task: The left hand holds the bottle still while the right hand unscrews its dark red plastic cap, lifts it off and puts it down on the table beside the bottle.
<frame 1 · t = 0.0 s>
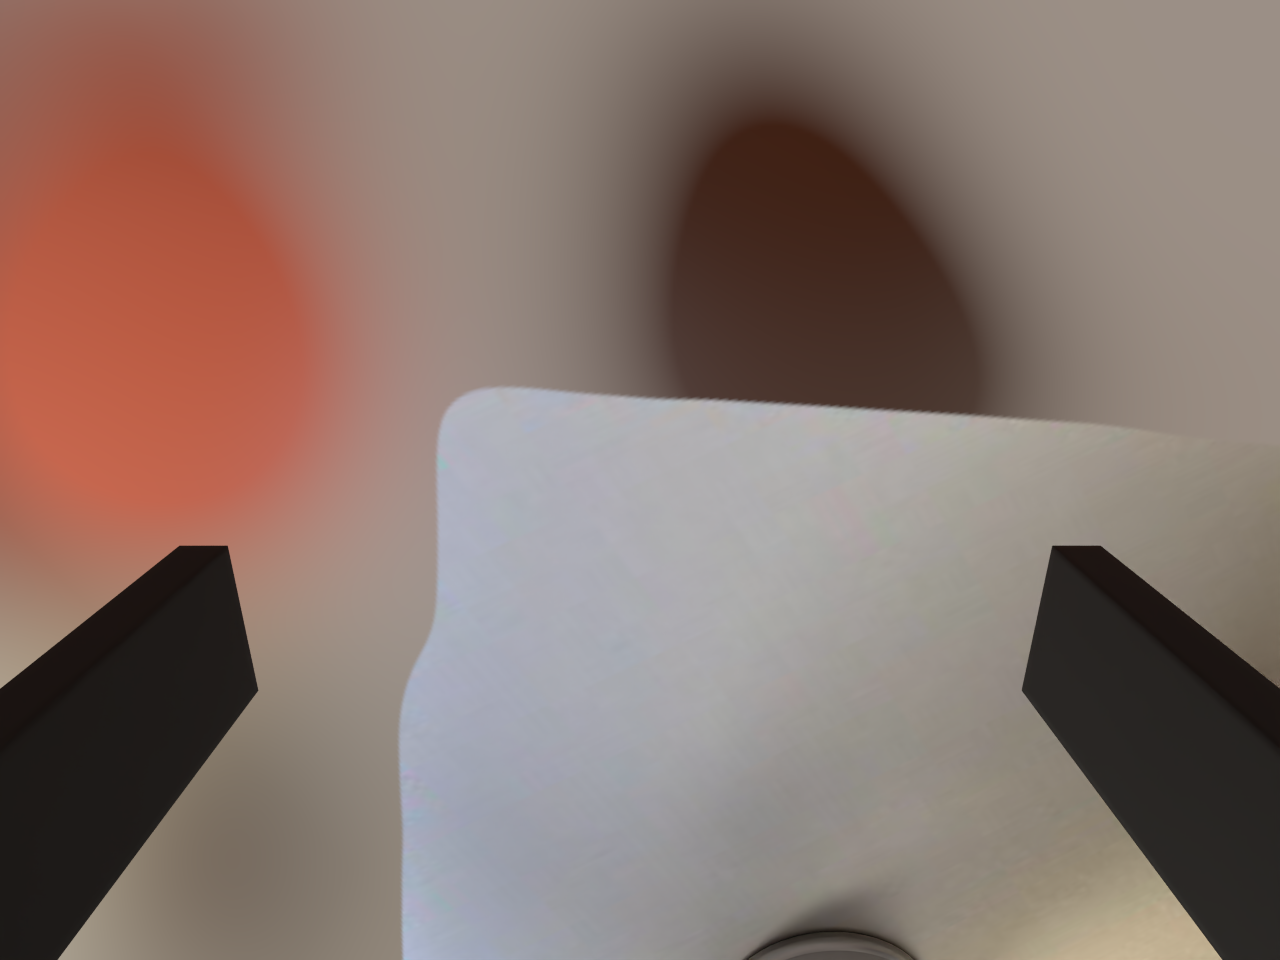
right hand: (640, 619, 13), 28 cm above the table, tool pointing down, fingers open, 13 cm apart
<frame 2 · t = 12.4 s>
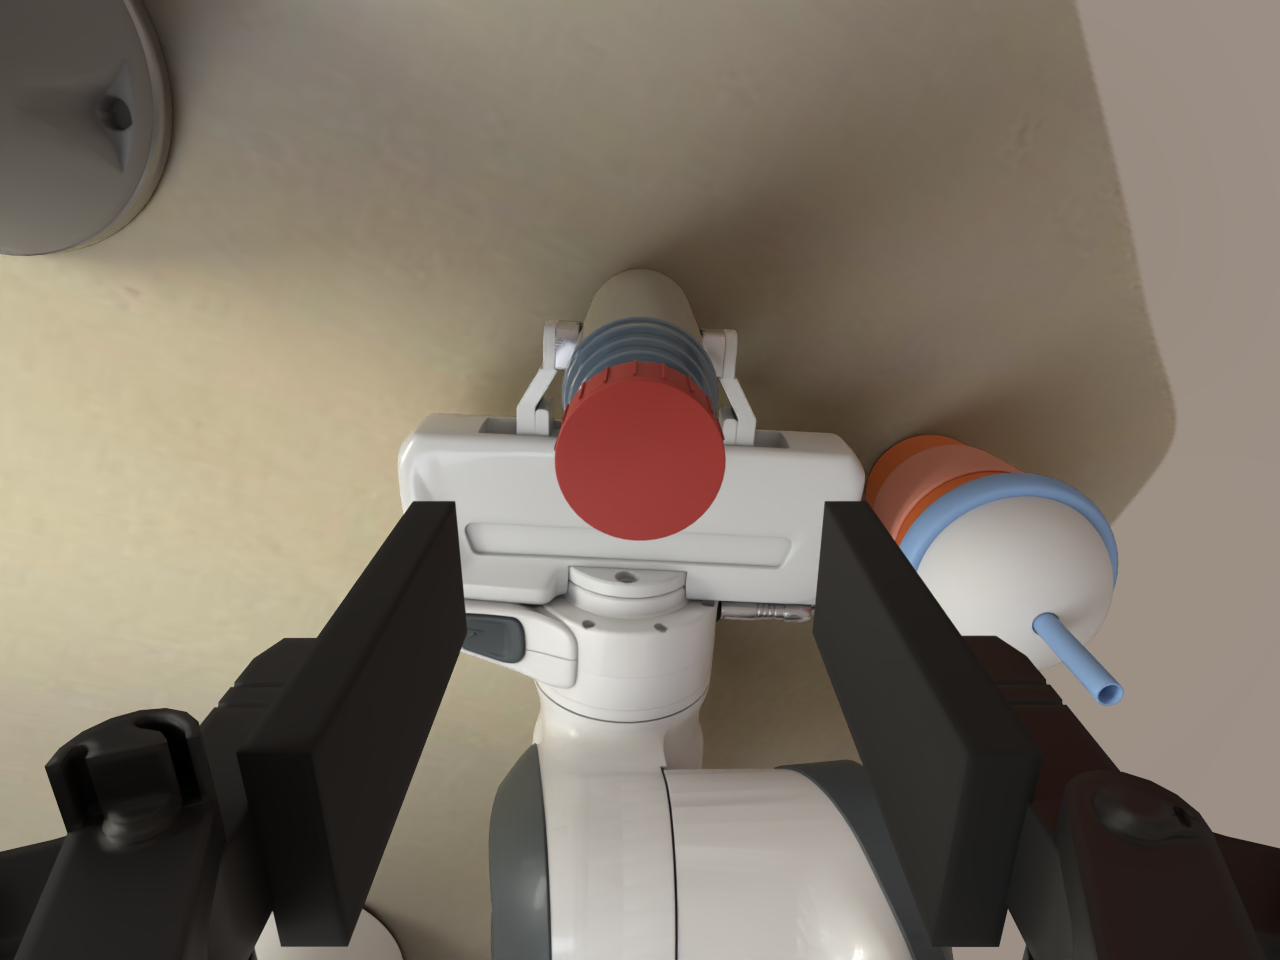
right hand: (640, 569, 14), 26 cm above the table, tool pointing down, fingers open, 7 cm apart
left hand: (640, 326, 33), fingers closed on bottle, 5 cm apart
cap: (640, 459, 20), point 20 cm above the table, screwed on, not yet turned
bottle: (640, 322, 39), on the table, touching left hand
cup with straw: (920, 486, 42), on the table
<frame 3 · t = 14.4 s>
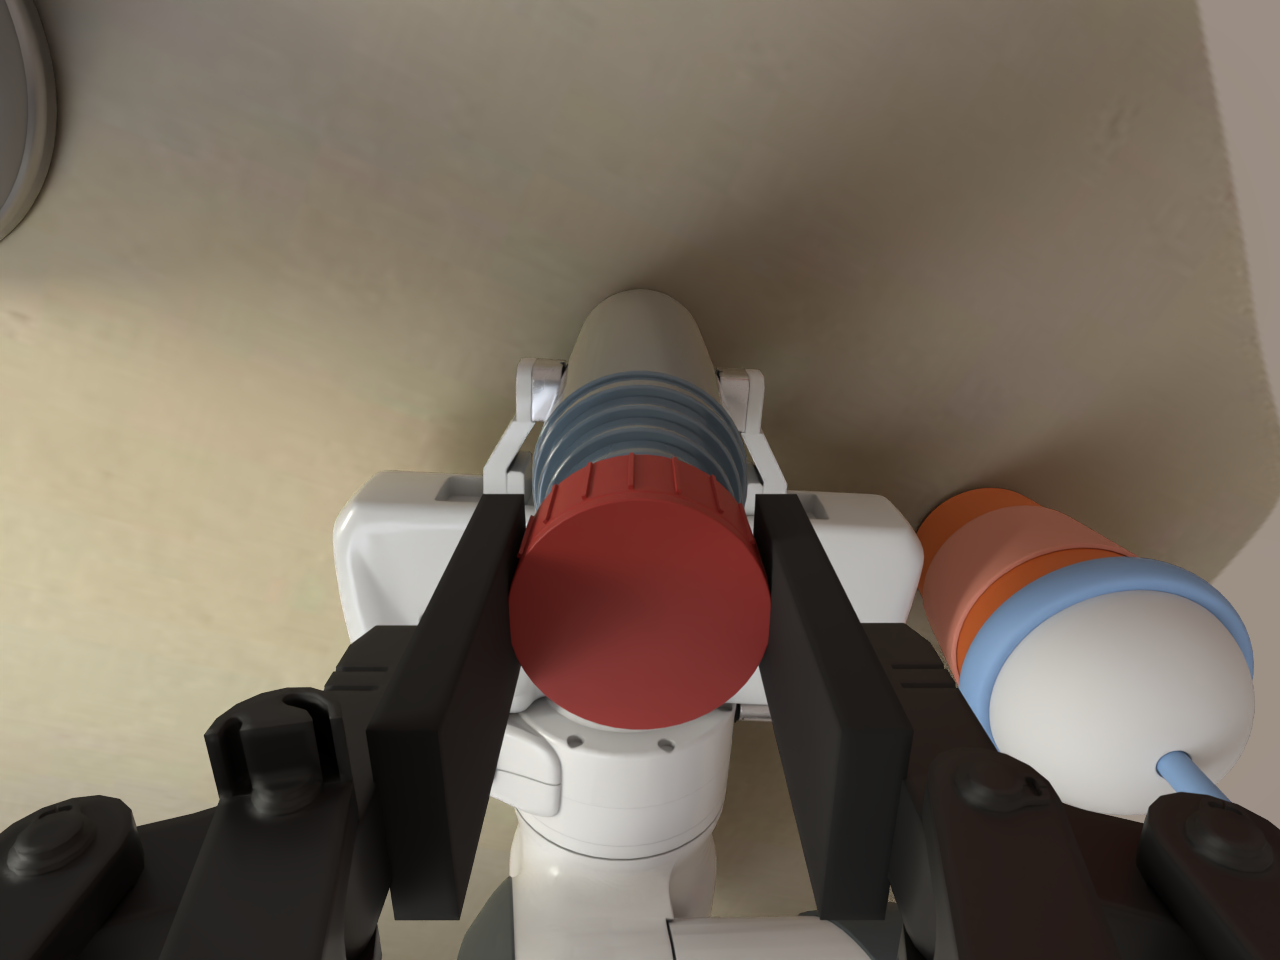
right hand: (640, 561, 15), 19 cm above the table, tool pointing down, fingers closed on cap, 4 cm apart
cap: (639, 612, 13), point 20 cm above the table, screwed on, not yet turned, touching right hand
bottle: (639, 353, 32), on the table, touching left hand
cup with straw: (976, 547, 35), on the table
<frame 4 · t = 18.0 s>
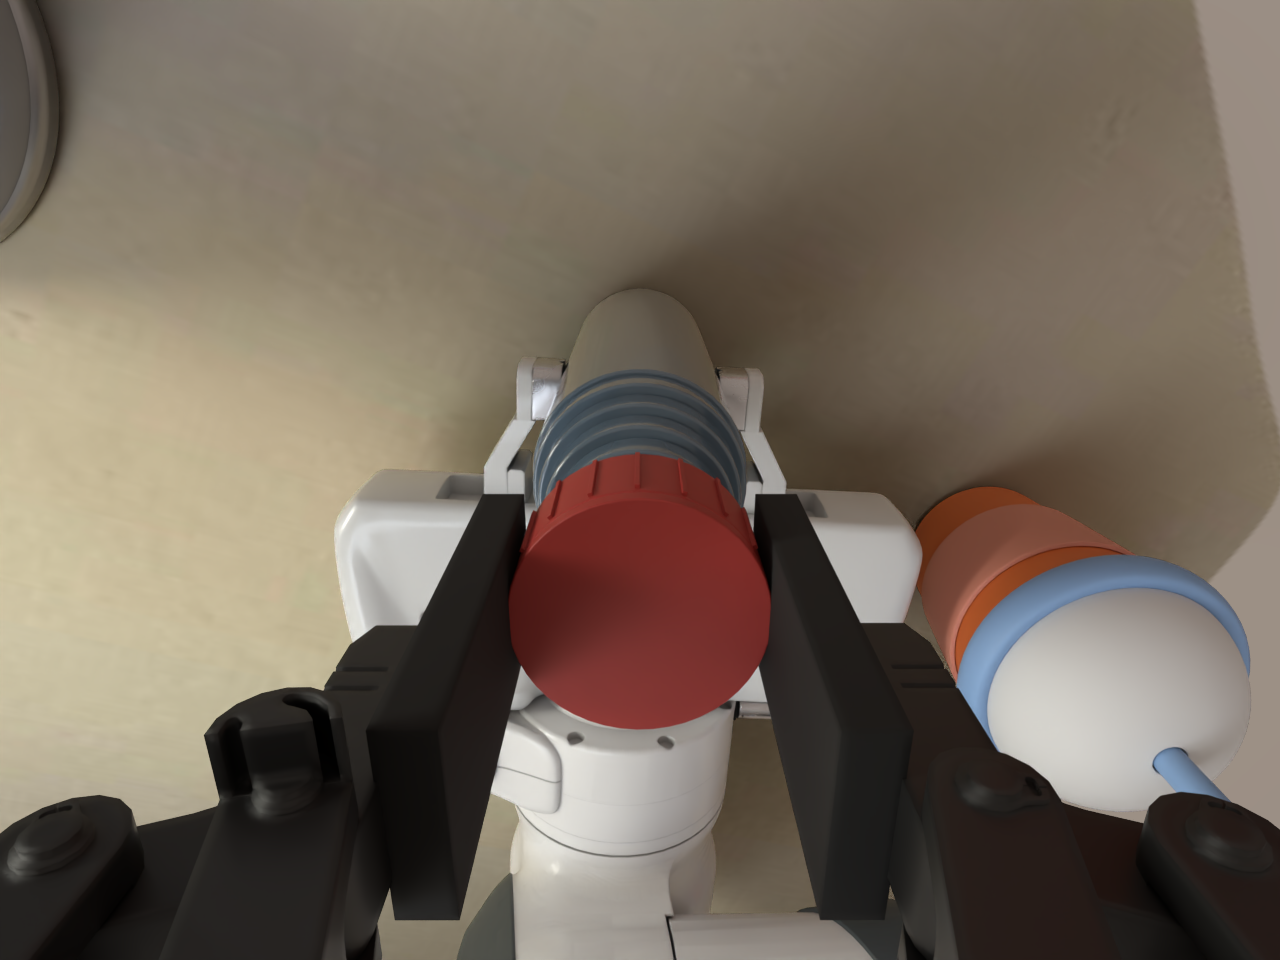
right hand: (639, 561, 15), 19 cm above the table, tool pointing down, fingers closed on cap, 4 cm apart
cap: (639, 612, 13), point 21 cm above the table, turned 137° so far, risen 0.1 cm, still on its thread, touching right hand
bottle: (639, 352, 32), on the table, touching left hand
cup with straw: (974, 546, 35), on the table
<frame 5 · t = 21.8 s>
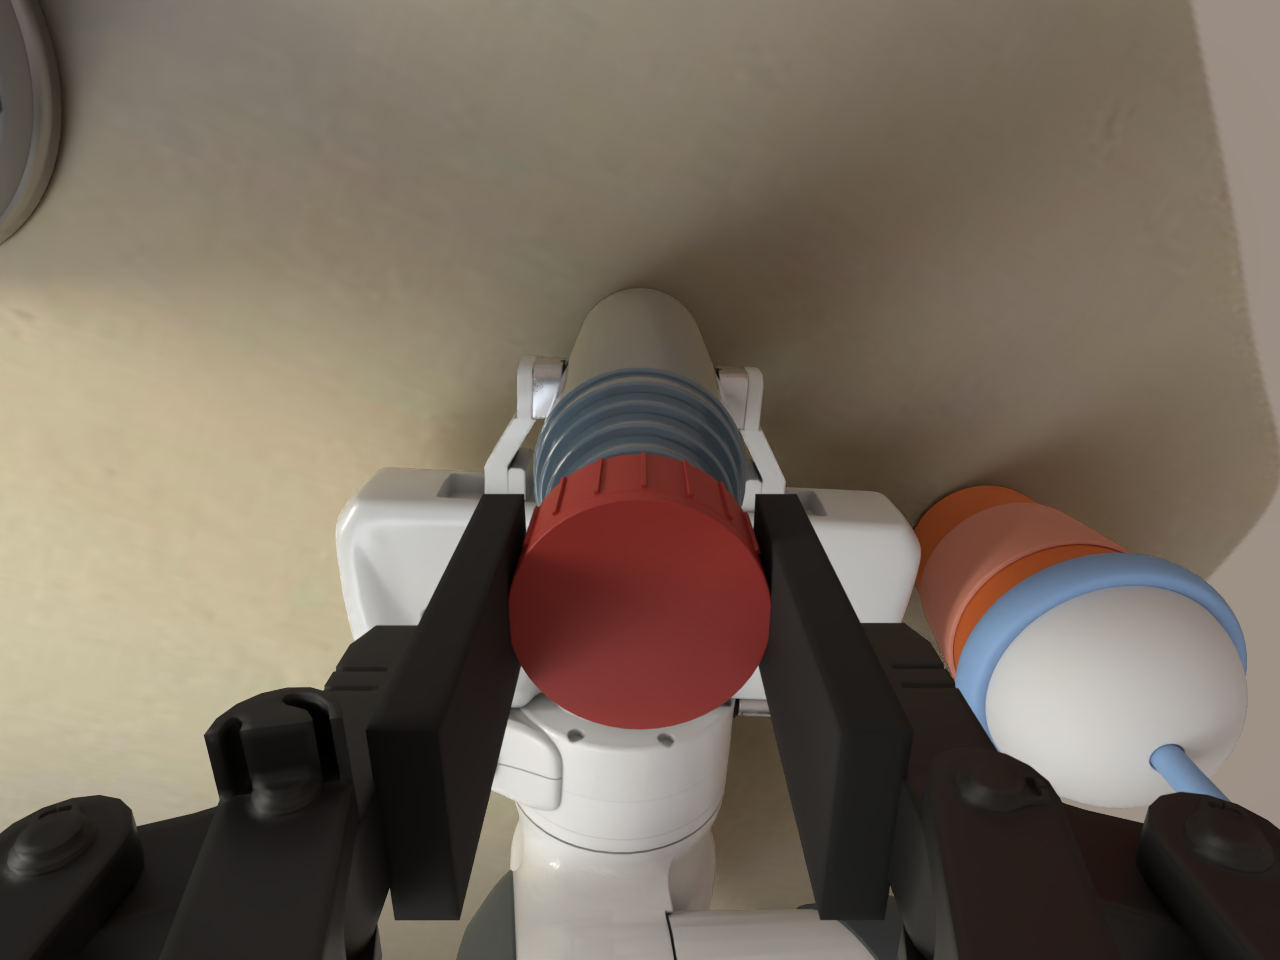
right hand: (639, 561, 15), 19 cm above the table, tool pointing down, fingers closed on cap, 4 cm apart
cap: (639, 612, 13), point 21 cm above the table, turned 275° so far, risen 0.3 cm, still on its thread, touching right hand
bottle: (639, 351, 32), on the table, touching left hand
cup with straw: (973, 545, 35), on the table
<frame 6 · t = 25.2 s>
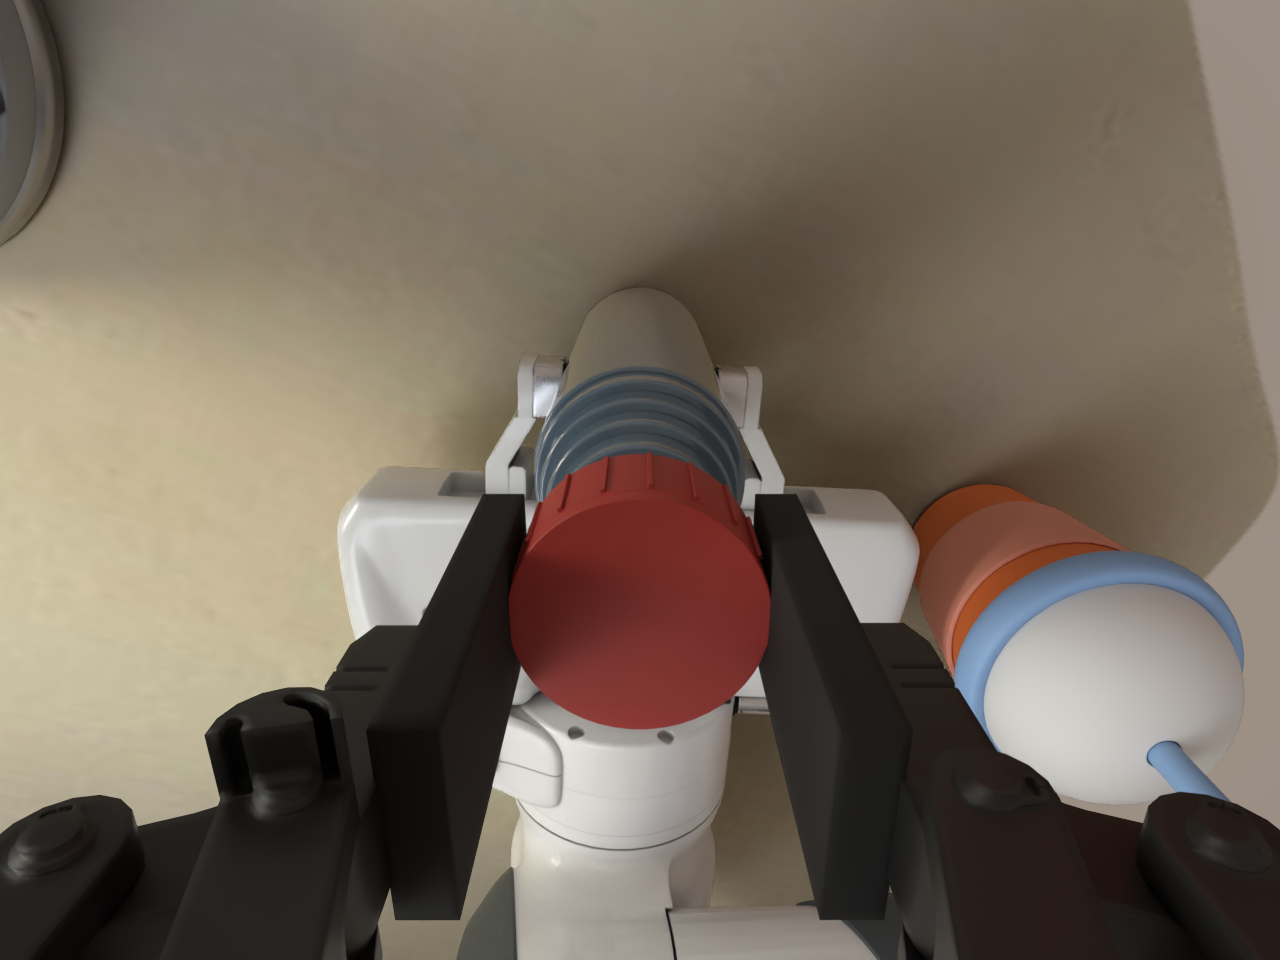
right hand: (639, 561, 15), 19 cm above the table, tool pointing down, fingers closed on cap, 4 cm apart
cap: (639, 611, 13), point 21 cm above the table, turned 412° so far, risen 0.4 cm, still on its thread, touching right hand
bottle: (639, 350, 32), on the table, touching left hand
cup with straw: (972, 543, 35), on the table
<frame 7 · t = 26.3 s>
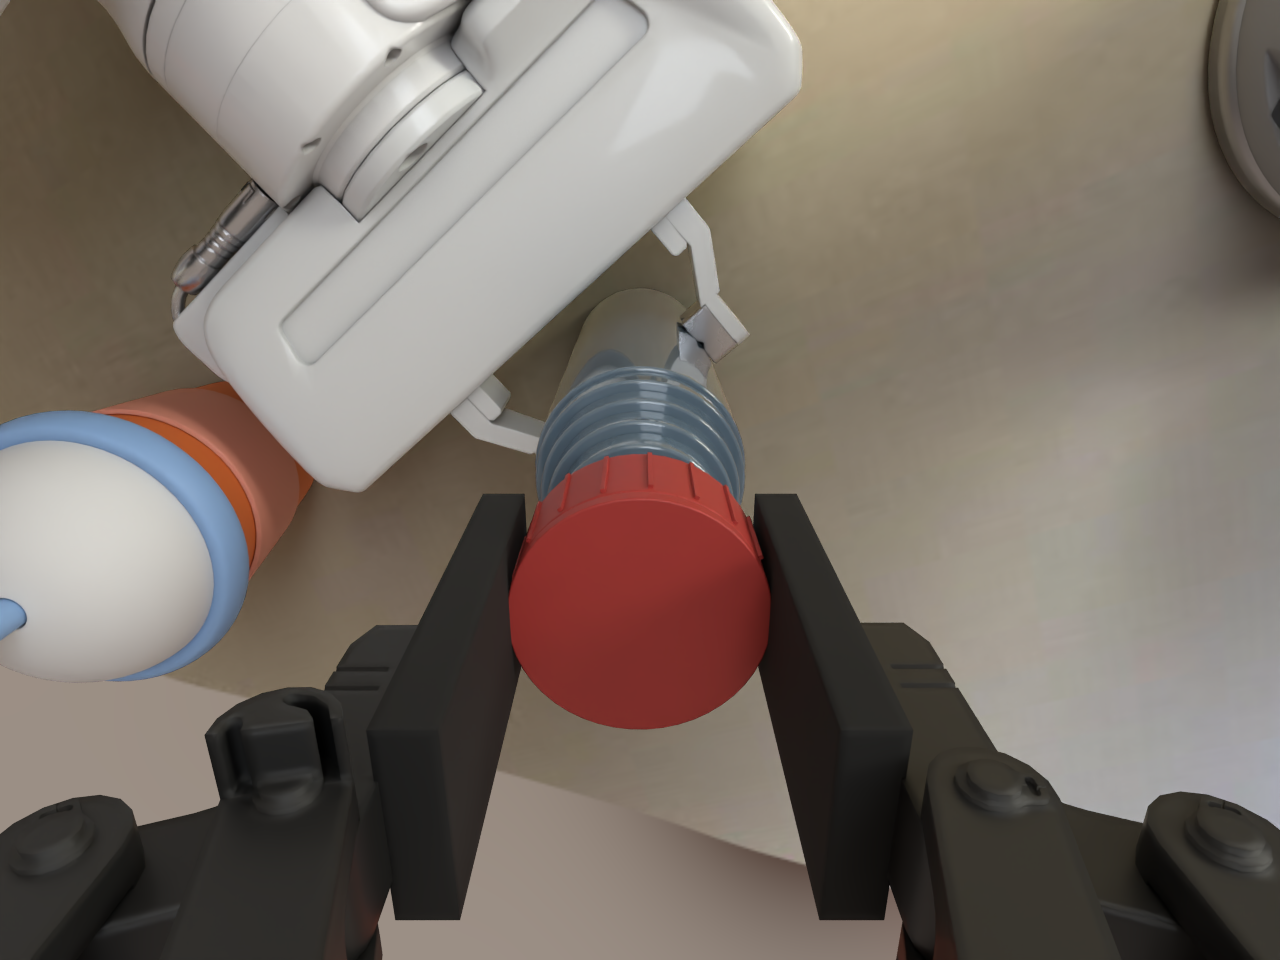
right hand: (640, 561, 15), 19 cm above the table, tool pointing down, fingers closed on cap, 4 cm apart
left hand: (658, 408, 27), fingers closed on bottle, 5 cm apart
cap: (639, 611, 13), point 21 cm above the table, off its thread, touching right hand
bottle: (640, 351, 32), on the table, touching left hand
cup with straw: (249, 447, 34), on the table
when the right hand's fingers open (1 cm above the table, at t = 32.3 s): cap drops 1 cm, point 2 cm above the table.
when the left hand's fingers open (6 cm above the table, at t = 33.6 s): bottle stays where it is, on the table.
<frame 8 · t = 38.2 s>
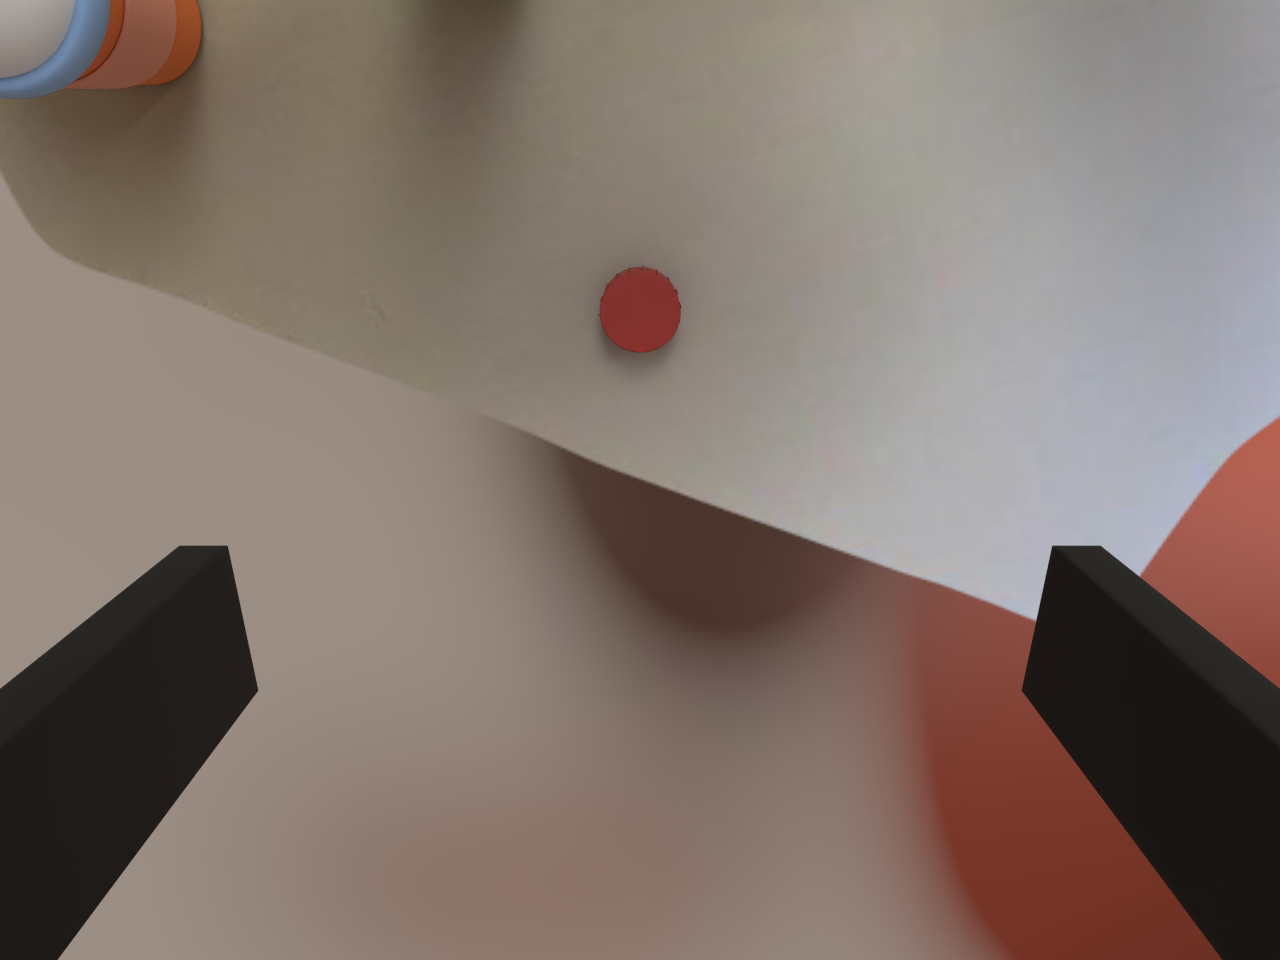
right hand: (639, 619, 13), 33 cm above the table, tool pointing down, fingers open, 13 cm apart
cap: (640, 311, 42), point 2 cm above the table, off its thread
cup with straw: (142, 16, 39), on the table
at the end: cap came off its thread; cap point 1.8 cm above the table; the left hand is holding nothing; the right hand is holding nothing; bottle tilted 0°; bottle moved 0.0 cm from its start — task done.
